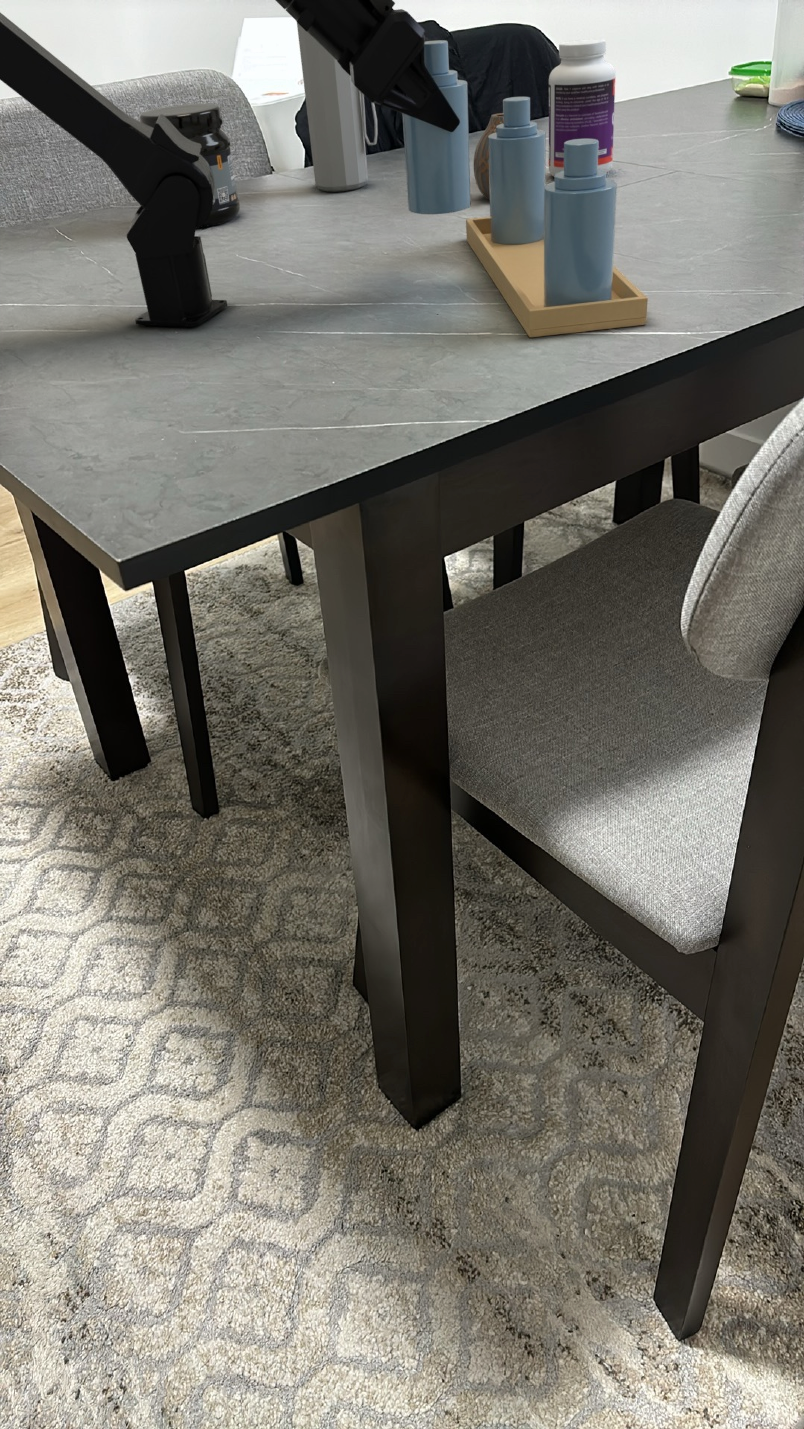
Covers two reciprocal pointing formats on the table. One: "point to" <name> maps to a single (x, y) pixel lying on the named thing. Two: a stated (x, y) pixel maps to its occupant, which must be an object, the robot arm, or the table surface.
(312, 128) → the water bottle
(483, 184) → the vase
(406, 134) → the loose bottle
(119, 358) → the table surface
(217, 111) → the supplement container
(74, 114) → the robot arm
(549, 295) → the bottle
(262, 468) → the table surface
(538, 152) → the bottle
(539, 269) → the tray
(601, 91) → the pill bottle
